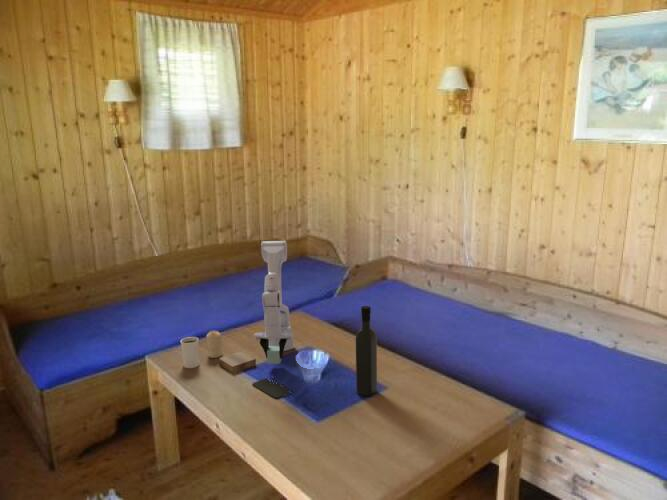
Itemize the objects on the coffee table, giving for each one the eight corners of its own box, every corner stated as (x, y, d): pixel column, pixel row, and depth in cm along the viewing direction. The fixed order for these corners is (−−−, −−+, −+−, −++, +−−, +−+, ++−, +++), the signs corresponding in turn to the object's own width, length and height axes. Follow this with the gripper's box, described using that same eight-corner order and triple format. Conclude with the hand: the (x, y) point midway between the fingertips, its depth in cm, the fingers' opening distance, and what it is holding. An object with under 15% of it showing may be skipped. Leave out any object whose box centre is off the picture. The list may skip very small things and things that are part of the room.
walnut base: (242, 358, 214) (241, 351, 213) (256, 366, 207) (255, 358, 206) (219, 365, 208) (218, 358, 207) (232, 374, 200) (232, 366, 200)
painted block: (270, 358, 206) (269, 346, 204) (281, 358, 205) (281, 346, 204) (267, 363, 201) (266, 350, 200) (279, 363, 201) (279, 351, 200)
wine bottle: (363, 387, 187) (362, 303, 180) (378, 390, 184) (377, 305, 178) (355, 394, 182) (353, 308, 176) (370, 398, 179) (369, 311, 173)
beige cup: (203, 362, 210) (201, 337, 208) (195, 369, 204) (192, 344, 202) (188, 360, 212) (186, 336, 210) (179, 367, 206) (176, 342, 204)
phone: (268, 377, 195) (293, 390, 184) (268, 379, 196) (294, 393, 185) (250, 383, 191) (276, 398, 180) (250, 386, 191) (276, 400, 180)
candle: (220, 358, 214) (218, 333, 211) (206, 358, 214) (204, 334, 212) (223, 352, 219) (221, 328, 217) (209, 352, 219) (208, 328, 217)
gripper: (250, 326, 197) (252, 361, 200) (290, 327, 195) (292, 362, 198) (255, 319, 203) (257, 353, 206) (293, 320, 202) (295, 354, 205)
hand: (274, 357), depth 203 cm, fingers closed on painted block, 4 cm apart
